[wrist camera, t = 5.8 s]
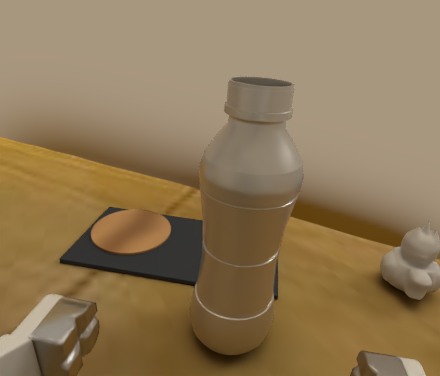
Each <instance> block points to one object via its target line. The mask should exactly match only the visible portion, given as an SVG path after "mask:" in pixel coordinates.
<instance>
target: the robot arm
mask: <svg viewBox="0 0 440 376" xmlns="http://www.w3.org/2000/svg"><path fill="white" fill-rule="evenodd" d="M96 312H97V306H96V303H94V302H90V301H85V300H80V299H76V298H71V297H66V296H61V295H56V294H51V293H50V294H48V295H46V296H45V297H44V298H43V299H42V300H41V301H40V302H39V303H38V304H37V305H36V307H35V308H34V309H33V310H32V311H31V312H30V313H29V314H28V316H27V317H26V318H25V319H24V320H23V321H22V322H21V323H20V325H19V326H18V327H17V328H16V329H15V330H14V331H13V332H12V334H11V335H8V334H5V335H3V336H1V337H0V376H77V374H78V372H79V371H80V369H81V367H82V366H83V362H82V357H83V356H85V355H86V354H88V353H90V352H91V350H92V348H93V347H94V345H95V343H96V340H97V337H98V334H99V320H98V319H97V318H96V317H95V316H94V315H95V314H96ZM357 362H358V366H356V367H355V368H353V369H352V372H351V375H350V376H426V375H425V372H424V370H423V368H422V366H421V364H420V363H419V362H418V361H417V360H413V359H407V358H402V357H396V356H392V355H386V354H380V353H374V352H368V351H360V352H359V354H358V356H357Z"/></svg>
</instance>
